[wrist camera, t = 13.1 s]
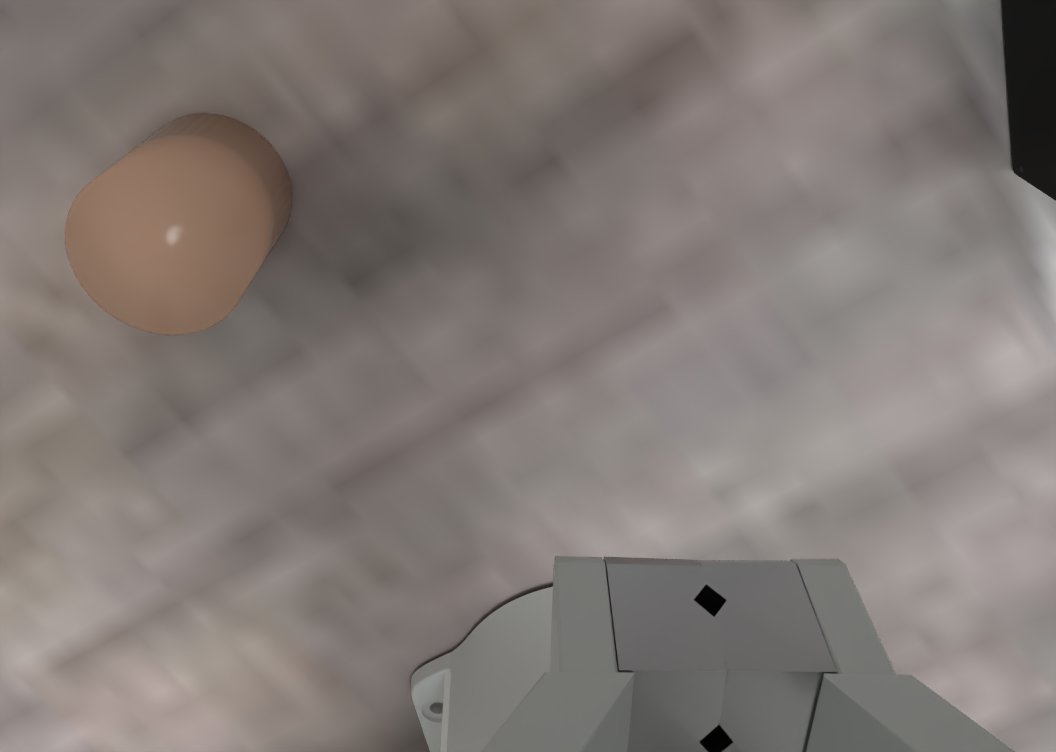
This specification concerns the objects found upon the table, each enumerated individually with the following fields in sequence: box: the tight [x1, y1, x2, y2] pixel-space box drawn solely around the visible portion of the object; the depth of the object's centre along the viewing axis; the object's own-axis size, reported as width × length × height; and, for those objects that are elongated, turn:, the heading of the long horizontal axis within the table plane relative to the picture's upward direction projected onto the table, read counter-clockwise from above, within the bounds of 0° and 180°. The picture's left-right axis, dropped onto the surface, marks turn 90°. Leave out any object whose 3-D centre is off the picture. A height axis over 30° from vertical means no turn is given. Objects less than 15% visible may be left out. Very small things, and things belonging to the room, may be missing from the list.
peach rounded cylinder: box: [65, 113, 292, 335], centre depth 35 cm, size 6×6×7 cm
